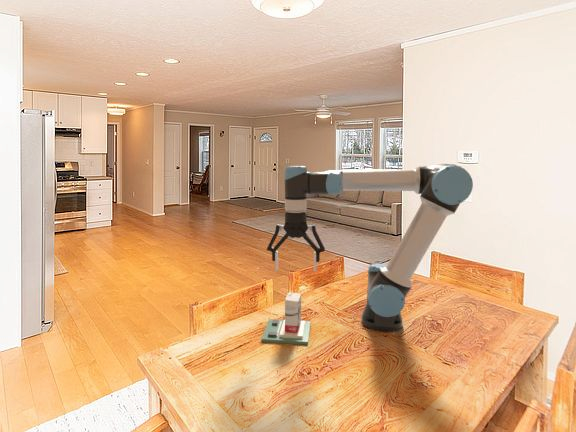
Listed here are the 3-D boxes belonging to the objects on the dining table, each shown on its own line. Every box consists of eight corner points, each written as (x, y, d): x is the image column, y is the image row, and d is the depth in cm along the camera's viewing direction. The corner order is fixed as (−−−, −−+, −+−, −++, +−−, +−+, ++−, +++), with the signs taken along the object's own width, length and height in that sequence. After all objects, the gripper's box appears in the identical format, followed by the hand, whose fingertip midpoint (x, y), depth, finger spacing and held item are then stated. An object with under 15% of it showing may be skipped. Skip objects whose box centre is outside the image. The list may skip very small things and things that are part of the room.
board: (310, 323, 145) (310, 318, 145) (307, 344, 129) (307, 339, 129) (268, 321, 147) (268, 316, 146) (261, 341, 131) (261, 336, 131)
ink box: (298, 333, 133) (298, 301, 131) (284, 332, 134) (284, 300, 132) (301, 322, 141) (301, 292, 139) (288, 321, 142) (288, 291, 140)
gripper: (331, 209, 134) (331, 267, 138) (261, 209, 136) (262, 266, 140) (332, 213, 127) (331, 274, 130) (258, 212, 129) (259, 272, 132)
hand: (295, 270), depth 135 cm, fingers open, 13 cm apart
